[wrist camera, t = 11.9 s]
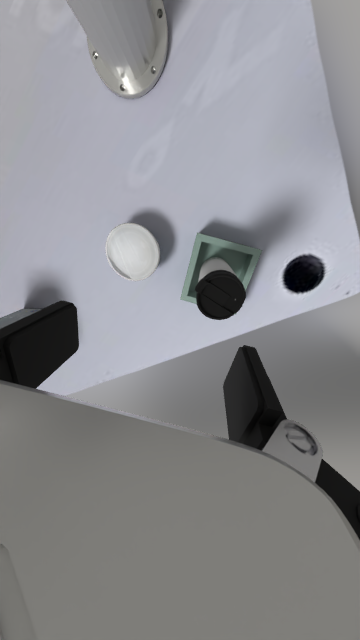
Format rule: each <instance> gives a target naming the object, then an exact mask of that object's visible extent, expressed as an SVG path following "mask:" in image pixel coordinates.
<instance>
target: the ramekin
mask: <svg viewBox="0 0 360 640" xmlns="http://www.w3.org/2000/svg"><path fill="white" fill-rule="evenodd" d="M106 256H107V259H108V262H109V264H110V265H111V267H112V269H113V270H114V271H115V272H116V273H117V274H118V275H120V276H121V277H123V278H125V279H127V280H131V281H139V280H143V279H146V278H148V277H149V276H150V275H152V274H153V273H154V271H155V270H156V269H157V267H158V264H159V260H160V247H159V244H158V241H157V240H156V238H155V237H154V236H153V234H152V233H151V232H150V231H149V230H148V229H146V228H145V227H143V226H141V225H139V224H135V223H124V224H120V225H118V226H117V227H115V228H114V229H113V230H112V231H111V232H110V234H109V236H108V238H107V241H106Z"/></svg>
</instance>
